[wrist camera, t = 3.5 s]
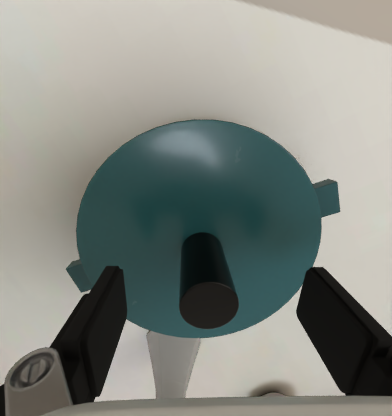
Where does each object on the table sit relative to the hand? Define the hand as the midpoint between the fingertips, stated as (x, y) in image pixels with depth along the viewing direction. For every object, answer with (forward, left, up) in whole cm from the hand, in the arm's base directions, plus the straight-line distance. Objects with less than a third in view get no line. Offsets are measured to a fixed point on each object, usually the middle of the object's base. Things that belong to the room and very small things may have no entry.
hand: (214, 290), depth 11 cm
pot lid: (0, 0, -5) cm, 5 cm away
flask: (+7, -17, -12) cm, 22 cm away
